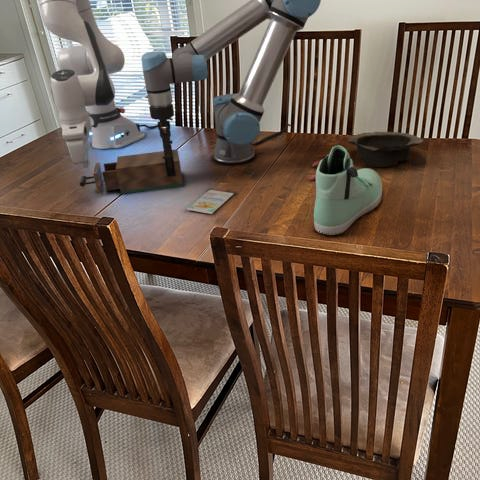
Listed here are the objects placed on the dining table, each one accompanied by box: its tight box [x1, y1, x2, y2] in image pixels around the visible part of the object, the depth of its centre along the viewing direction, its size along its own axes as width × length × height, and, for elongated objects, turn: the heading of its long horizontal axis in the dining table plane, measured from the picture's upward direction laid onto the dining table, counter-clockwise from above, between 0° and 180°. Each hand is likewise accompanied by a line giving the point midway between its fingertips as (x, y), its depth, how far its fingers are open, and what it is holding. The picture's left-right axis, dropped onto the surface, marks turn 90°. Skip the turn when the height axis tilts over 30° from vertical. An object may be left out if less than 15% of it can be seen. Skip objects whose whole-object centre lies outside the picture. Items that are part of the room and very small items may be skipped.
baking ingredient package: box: [186, 189, 235, 215], centre depth 148 cm, size 9×1×15 cm
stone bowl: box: [347, 131, 425, 168], centre depth 166 cm, size 25×25×9 cm
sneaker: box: [313, 145, 383, 236], centre depth 133 cm, size 14×35×20 cm, turn 152°
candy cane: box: [309, 160, 321, 182], centre depth 162 cm, size 6×15×2 cm, turn 145°
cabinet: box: [116, 148, 184, 195], centre depth 162 cm, size 20×11×9 cm, turn 100°
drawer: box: [79, 161, 120, 195], centre depth 160 cm, size 24×10×7 cm, turn 100°
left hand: (86, 166), depth 157 cm, fingers closed
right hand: (170, 169), depth 162 cm, fingers closed on cabinet, 11 cm apart
